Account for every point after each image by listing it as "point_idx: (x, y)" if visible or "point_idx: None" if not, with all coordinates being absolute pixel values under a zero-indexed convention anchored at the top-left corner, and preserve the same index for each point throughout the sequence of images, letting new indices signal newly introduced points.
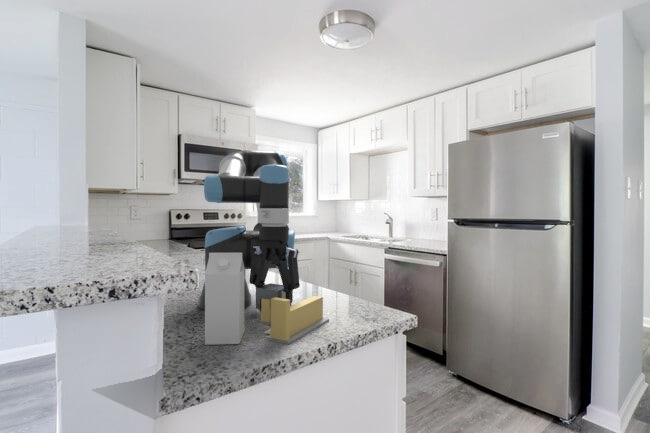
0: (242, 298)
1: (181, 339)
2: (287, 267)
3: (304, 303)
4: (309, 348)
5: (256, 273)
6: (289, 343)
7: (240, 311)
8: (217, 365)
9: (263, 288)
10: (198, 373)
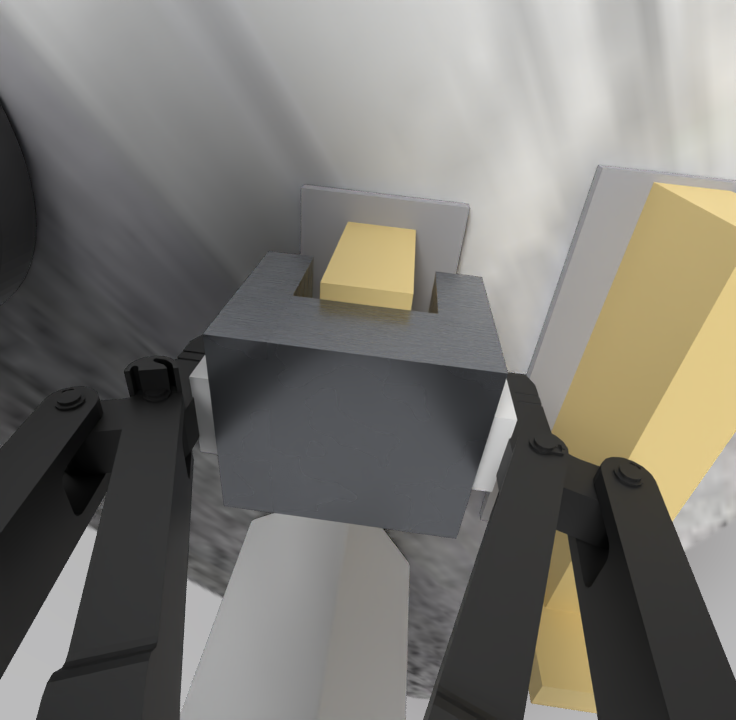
0: (364, 693)
1: (209, 568)
2: (529, 666)
3: (676, 475)
4: (681, 534)
5: (60, 511)
6: None
7: (394, 667)
8: (438, 642)
9: (302, 513)
10: (422, 666)
